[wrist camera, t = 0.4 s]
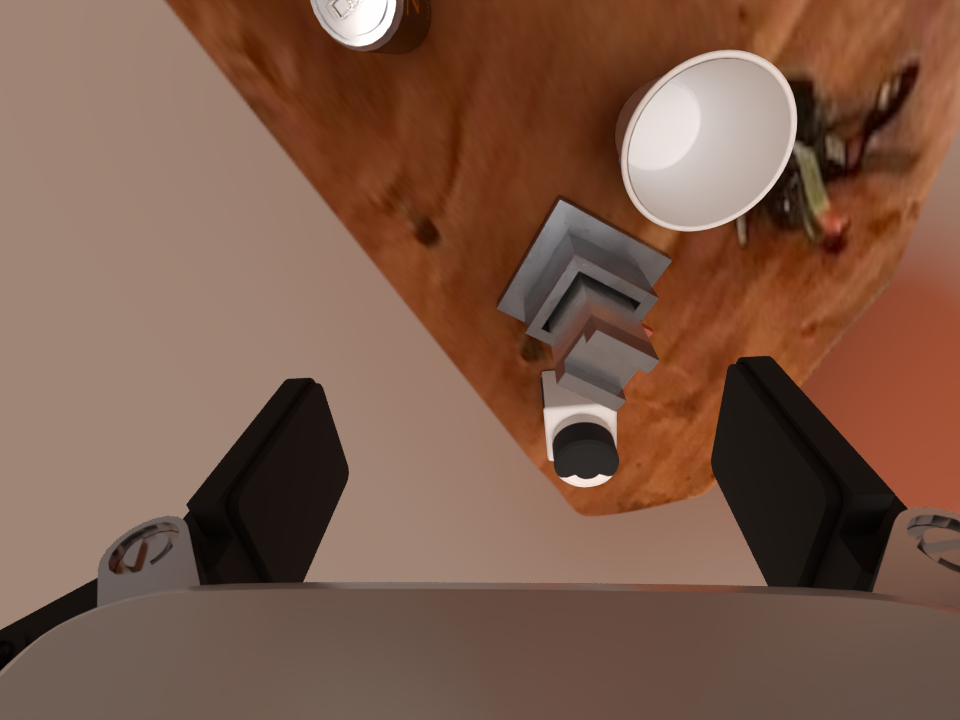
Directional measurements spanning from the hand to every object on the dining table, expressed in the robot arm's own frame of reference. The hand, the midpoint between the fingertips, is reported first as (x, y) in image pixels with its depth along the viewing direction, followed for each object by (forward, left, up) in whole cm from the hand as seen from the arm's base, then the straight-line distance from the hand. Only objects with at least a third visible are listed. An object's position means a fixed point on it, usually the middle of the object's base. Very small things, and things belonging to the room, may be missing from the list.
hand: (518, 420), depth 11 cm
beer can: (-13, +5, -36) cm, 39 cm away
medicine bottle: (+18, -19, -36) cm, 44 cm away
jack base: (+11, -7, -36) cm, 38 cm away
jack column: (+11, -7, -34) cm, 36 cm away
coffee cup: (+9, +8, -36) cm, 38 cm away
